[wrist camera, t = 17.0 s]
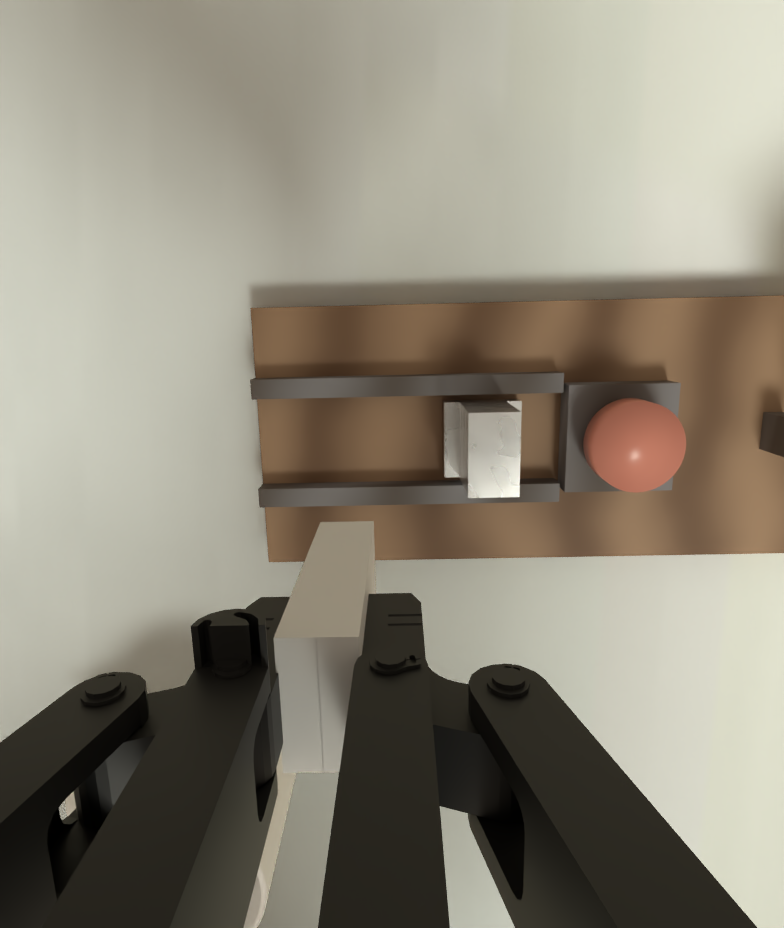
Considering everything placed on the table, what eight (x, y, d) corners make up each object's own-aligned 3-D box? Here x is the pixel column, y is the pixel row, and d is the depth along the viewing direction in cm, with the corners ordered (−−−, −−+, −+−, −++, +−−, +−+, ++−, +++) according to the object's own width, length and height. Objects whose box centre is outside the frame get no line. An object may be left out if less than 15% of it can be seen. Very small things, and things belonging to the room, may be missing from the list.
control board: (921, 293, 33) (1000, 288, 29) (881, 538, 36) (946, 567, 32) (259, 309, 33) (238, 306, 29) (275, 549, 37) (259, 579, 32)
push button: (674, 397, 30) (689, 400, 28) (667, 483, 31) (682, 491, 29) (585, 399, 30) (595, 402, 28) (581, 485, 31) (590, 493, 29)
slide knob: (518, 399, 32) (539, 411, 28) (516, 472, 33) (536, 496, 28) (443, 400, 32) (450, 413, 28) (443, 473, 33) (450, 498, 28)
